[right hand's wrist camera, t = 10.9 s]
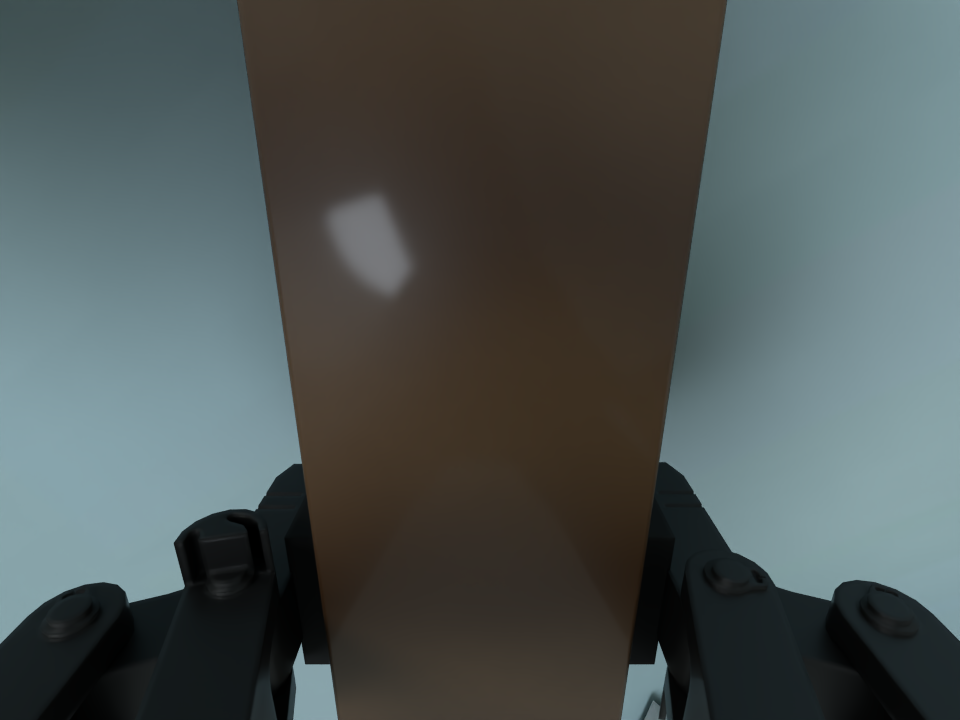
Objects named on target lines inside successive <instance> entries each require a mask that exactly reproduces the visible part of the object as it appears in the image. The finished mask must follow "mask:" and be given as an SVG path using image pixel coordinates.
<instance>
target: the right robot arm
mask: <svg viewBox="0 0 960 720" xmlns="http://www.w3.org/2000/svg"><path fill="white" fill-rule="evenodd" d="M701 505H702V504H701V502H700V501H699V499H698V498H697V496H696V495H695V494H693V490H692V488H691V487H690V485H689V483H688V482H687V480H686V479H685V477H684V476H683V475H682V474H681V473H679V472H678V471H677V470H675V469H674V468H673V467H671V466H670V465H669V464H667V463H666V462H659V466H658V472H657V479H656V486H655V493H654V499H653V506H652V513H651V520H650V526H649V533H648V540H647V547H646V553H645V560H644V567H643V574H642V581H641V587H640V594H639V601H638V608H637V614H636V621H635V628H634V635H633V641H632V648H631V655H630V662H629V664H654V663H655V657H656V651H657V646H658V641H659V643H660V646H661V649H662V652H663V654H664V657H665V660H666V663H667V671H666V676H665V682H664V687H663V693H662V699H661V704H660V711H659V718H658V719H661V720H665V719H666V714H667V720H960V641H959V640H958V639H957V638H956V637H955V636H954V635H953V634H952V633H951V632H950V631H949V630H948V629H947V628H946V627H945V626H944V625H943V624H942V623H941V622H940V621H939V620H938V619H937V618H936V617H935V616H934V615H933V614H932V613H931V612H930V611H928V610H927V609H926V608H925V607H923V606H922V605H921V604H920V603H919V602H917V601H916V600H914V599H912V598H911V597H909V596H907V595H905V594H903V593H901V592H900V591H898V590H896V589H893V588H890V587H887V586H884V585H881V584H879V583H876V582H869V581H861V580H854V581H848V582H843V583H842V584H841V585H840V586H838V587H837V588H836V589H835V591H834V594H833V597H832V600H831V601H829V600H825V599H820V598H816V597H812V596H807V595H803V594H799V593H795V592H791V591H788V590H784V589H781V588H778V587H776V586H775V584H774V583H773V581H772V580H771V578H770V577H769V575H768V573H767V572H765V571H764V570H763V569H762V568H761V567H759V566H758V565H757V564H756V563H755V562H753V561H751V560H749V559H747V558H745V557H743V556H741V555H739V554H736V553H733V552H731V550H730V548H729V547H728V545H727V544H726V542H725V540H724V539H723V537H722V536H721V534H720V533H719V531H718V529H717V528H716V526H715V525H714V523H713V521H712V520H711V518H710V517H709V515H708V514H707V512H706V510H705V509H704V507H702V506H701ZM174 546H175V550H176V554H177V558H178V561H179V565H180V569H181V573H182V577H183V580H184V584H185V587H184V589H183V590H179V591H176V592H173V593H170V594H166V595H162V596H157V597H153V598H149V599H145V600H140V601H136V602H132V603H129V602H128V599H127V596H126V593H125V591H124V590H123V589H121V588H120V587H119V586H118V585H116V584H110V583H105V582H102V583H94V584H86V585H83V586H80V587H77V588H74V589H71V590H68V591H65V592H63V593H61V594H59V595H58V596H56V597H54V598H52V599H50V600H48V601H47V602H45V603H44V604H42V605H41V606H40V607H39V608H37V609H36V610H35V611H34V612H32V613H31V614H30V615H29V616H28V617H27V618H26V619H25V620H24V621H23V622H22V623H21V624H20V625H19V626H18V627H17V628H16V629H15V630H14V631H13V632H12V633H11V634H10V635H9V636H8V637H7V638H6V639H5V640H4V641H3V642H2V643H1V644H0V720H293V715H294V704H295V694H296V684H295V677H294V671H293V664H294V661H295V659H296V656H297V653H298V650H299V648H300V645H301V642H302V648H303V654H304V660H305V664H330V659H329V652H328V645H327V638H326V631H325V623H324V616H323V609H322V602H321V595H320V588H319V581H318V574H317V566H316V559H315V552H314V545H313V538H312V531H311V524H310V517H309V509H308V502H307V495H306V488H305V481H304V474H303V467H302V464H293V465H292V466H291V467H289V468H288V469H287V470H285V471H284V472H283V473H281V474H280V475H279V476H277V477H276V479H275V480H274V482H273V483H272V485H271V487H270V488H269V490H268V491H267V495H266V496H264V498H263V499H262V501H261V503H260V504H259V506H258V509H256V510H255V512H254V511H251V510H247V509H236V510H226V511H222V512H218V513H214V514H211V515H209V516H207V517H204V518H202V519H200V520H198V521H196V522H194V523H193V524H192V525H190V526H189V527H188V528H186V529H185V530H184V531H182V532H181V534H180V535H179V537H178V538H177V539H176V541H175V542H174Z"/></svg>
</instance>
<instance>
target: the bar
mask: <svg viewBox="0 0 960 720" xmlns="http://www.w3.org/2000/svg"><path fill="white" fill-rule="evenodd" d="M237 4H238V11H239V18H240V25H241V32H242V39H243V47H244V54H245V61H246V68H247V75H248V82H249V89H250V96H251V103H252V111H253V118H254V125H255V132H256V139H257V146H258V153H259V160H260V168H261V175H262V182H263V189H264V196H265V203H266V210H267V217H268V225H269V232H270V239H271V246H272V253H273V260H274V267H275V274H276V282H277V289H278V296H279V303H280V310H281V317H282V324H283V331H284V339H285V346H286V353H287V360H288V367H289V374H290V381H291V388H292V395H293V403H294V410H295V417H296V424H297V431H298V438H299V445H300V452H301V460H302V467H303V474H304V481H305V488H306V495H307V502H308V509H309V517H310V524H311V531H312V538H313V545H314V552H315V559H316V566H317V574H318V581H319V588H320V595H321V602H322V609H323V616H324V623H325V631H326V638H327V645H328V652H329V659H330V666H331V673H332V680H333V688H334V695H335V702H336V709H337V716H338V720H621V716H622V709H623V702H624V696H625V689H626V682H627V675H628V669H629V662H630V655H631V648H632V641H633V635H634V628H635V621H636V614H637V608H638V601H639V594H640V587H641V581H642V574H643V567H644V560H645V553H646V547H647V540H648V533H649V526H650V520H651V513H652V506H653V499H654V493H655V486H656V479H657V472H658V466H659V459H660V452H661V445H662V438H663V432H664V425H665V418H666V411H667V405H668V398H669V391H670V384H671V378H672V371H673V364H674V357H675V350H676V344H677V337H678V330H679V323H680V317H681V310H682V303H683V296H684V290H685V283H686V276H687V269H688V262H689V256H690V249H691V242H692V235H693V229H694V222H695V215H696V208H697V202H698V195H699V188H700V181H701V174H702V168H703V161H704V154H705V147H706V141H707V134H708V127H709V120H710V114H711V107H712V100H713V93H714V86H715V80H716V73H717V66H718V59H719V53H720V46H721V39H722V32H723V26H724V19H725V12H726V5H727V0H237Z"/></svg>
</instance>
